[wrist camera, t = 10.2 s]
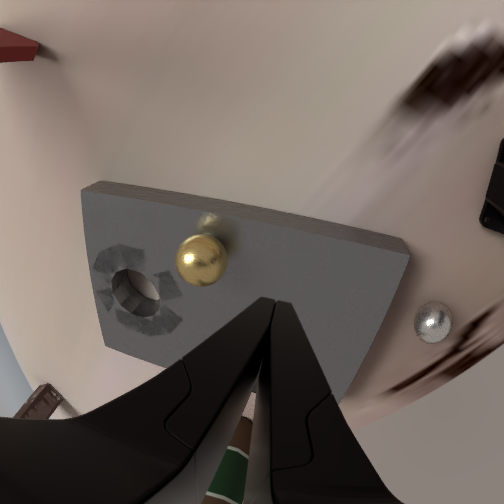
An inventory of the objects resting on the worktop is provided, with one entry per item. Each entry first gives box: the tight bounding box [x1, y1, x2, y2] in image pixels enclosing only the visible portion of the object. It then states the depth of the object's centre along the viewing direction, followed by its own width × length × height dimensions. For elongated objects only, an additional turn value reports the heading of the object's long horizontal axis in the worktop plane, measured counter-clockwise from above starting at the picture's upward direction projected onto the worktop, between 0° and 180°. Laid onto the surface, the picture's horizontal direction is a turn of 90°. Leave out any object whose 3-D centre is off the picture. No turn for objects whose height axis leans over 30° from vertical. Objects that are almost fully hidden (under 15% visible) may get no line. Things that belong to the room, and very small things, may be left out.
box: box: [13, 383, 63, 419], centre depth 39 cm, size 6×4×12 cm
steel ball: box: [413, 302, 452, 344], centre depth 20 cm, size 3×3×3 cm
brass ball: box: [175, 234, 228, 287], centre depth 19 cm, size 3×3×3 cm
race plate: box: [81, 181, 410, 405], centre depth 24 cm, size 23×16×2 cm
